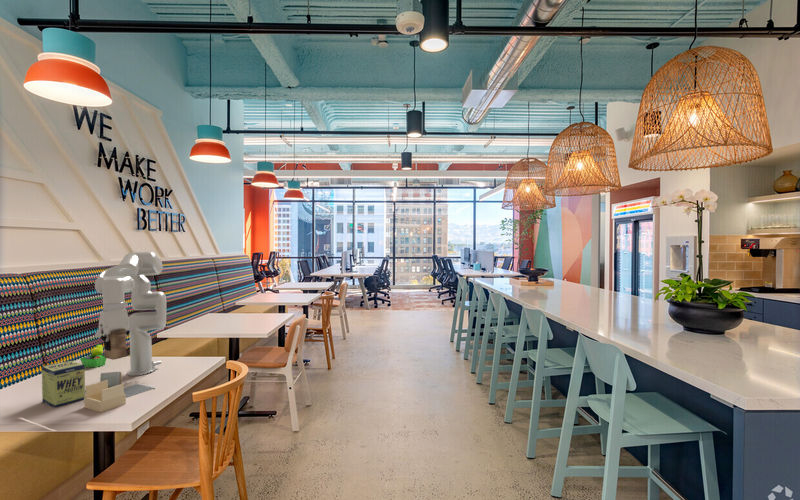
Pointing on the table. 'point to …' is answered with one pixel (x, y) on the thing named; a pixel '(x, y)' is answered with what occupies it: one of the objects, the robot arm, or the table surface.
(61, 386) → the protein box
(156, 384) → the table surface
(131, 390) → the rubber mat
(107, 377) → the ceramic mug
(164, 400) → the table surface
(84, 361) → the fruit basket
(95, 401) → the beige open box
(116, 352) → the walnut block
